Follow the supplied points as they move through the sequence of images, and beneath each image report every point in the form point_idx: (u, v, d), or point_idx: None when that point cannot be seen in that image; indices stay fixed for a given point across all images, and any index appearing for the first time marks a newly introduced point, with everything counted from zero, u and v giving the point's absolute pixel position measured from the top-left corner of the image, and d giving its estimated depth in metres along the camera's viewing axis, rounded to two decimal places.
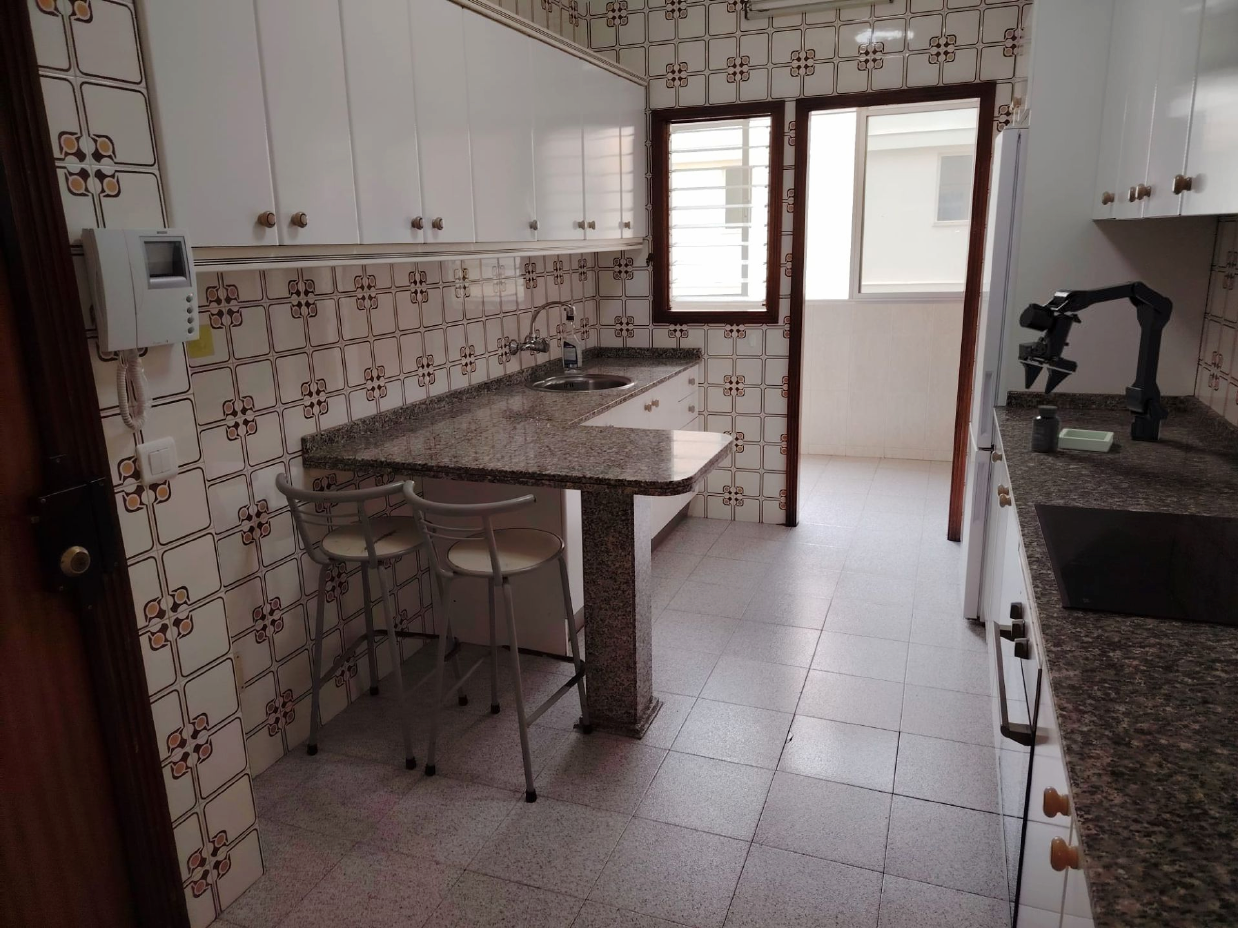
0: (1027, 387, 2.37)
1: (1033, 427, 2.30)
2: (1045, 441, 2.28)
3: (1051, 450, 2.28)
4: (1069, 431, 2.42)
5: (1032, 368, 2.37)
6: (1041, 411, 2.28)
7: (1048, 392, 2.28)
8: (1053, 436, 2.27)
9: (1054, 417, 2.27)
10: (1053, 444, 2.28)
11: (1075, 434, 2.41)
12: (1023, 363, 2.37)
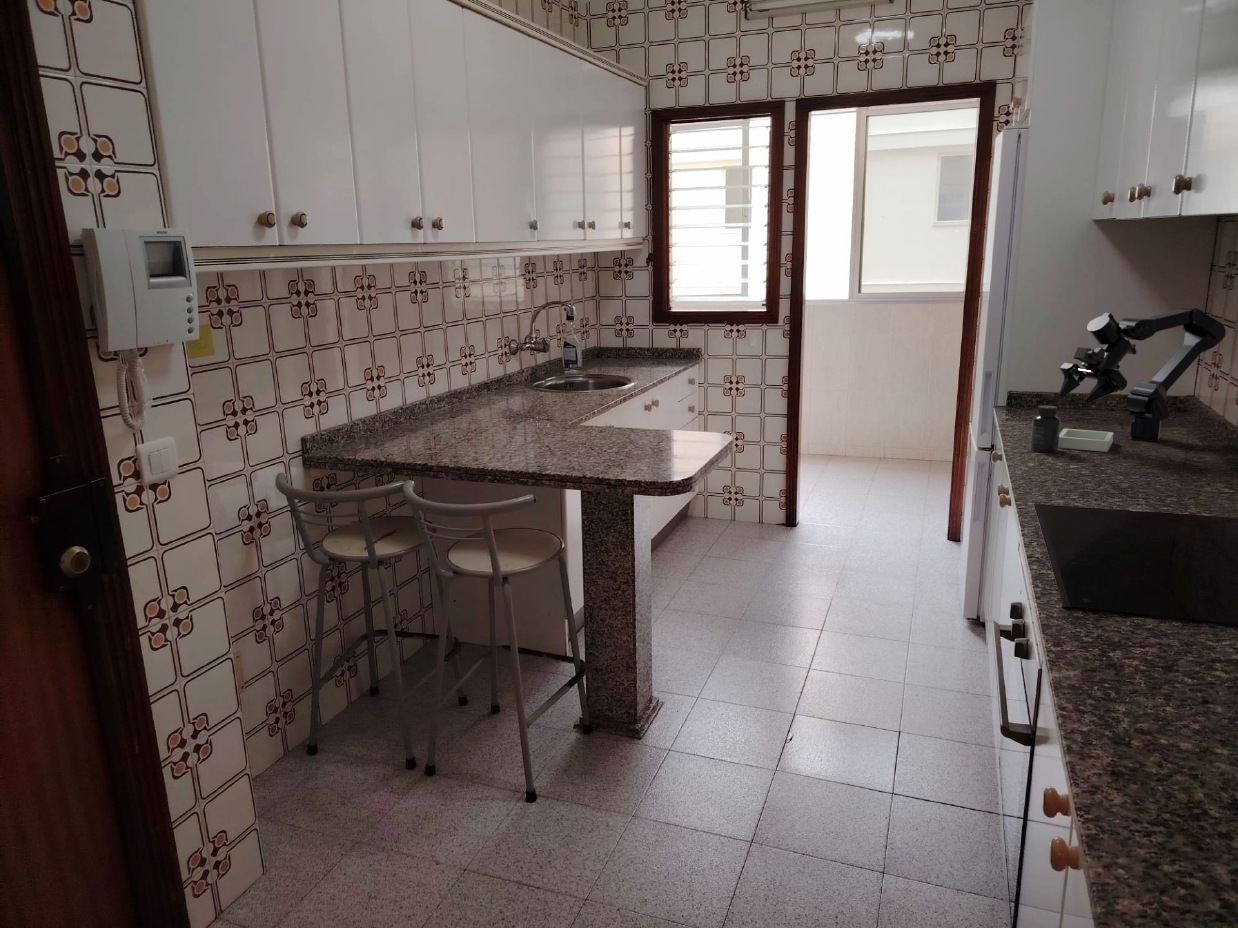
0: (1061, 395, 2.35)
1: (1033, 427, 2.30)
2: (1045, 441, 2.28)
3: (1051, 450, 2.28)
4: (1069, 431, 2.42)
5: (1072, 380, 2.35)
6: (1041, 411, 2.28)
7: (1088, 400, 2.26)
8: (1053, 436, 2.27)
9: (1054, 417, 2.27)
10: (1053, 444, 2.28)
11: (1075, 434, 2.41)
12: (1066, 371, 2.35)
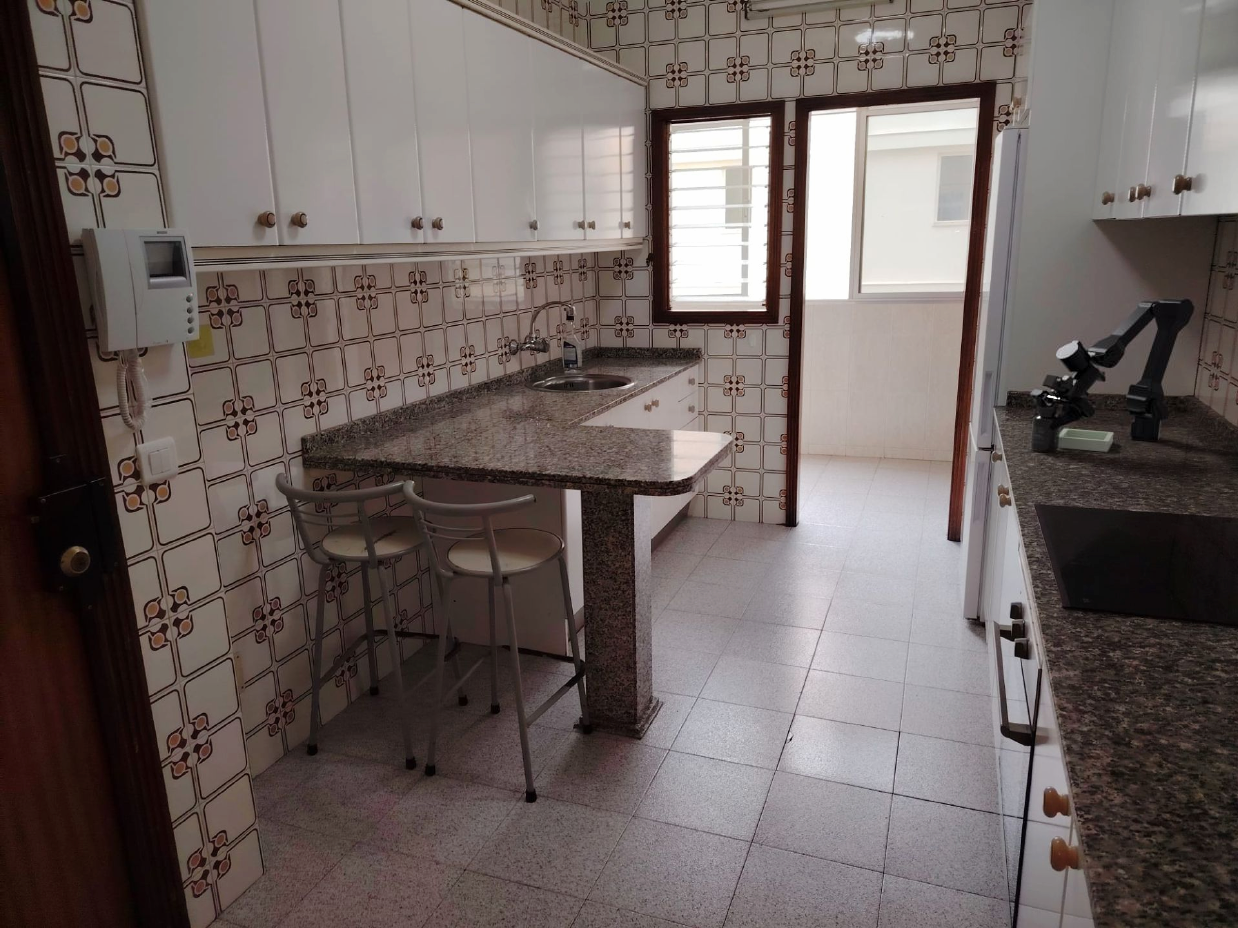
0: None
1: (1033, 427, 2.30)
2: (1045, 441, 2.28)
3: (1051, 450, 2.28)
4: (1069, 431, 2.42)
5: None
6: (1041, 411, 2.28)
7: (1053, 428, 2.26)
8: (1053, 436, 2.27)
9: (1054, 417, 2.27)
10: (1053, 444, 2.28)
11: (1075, 434, 2.41)
12: (1039, 399, 2.33)
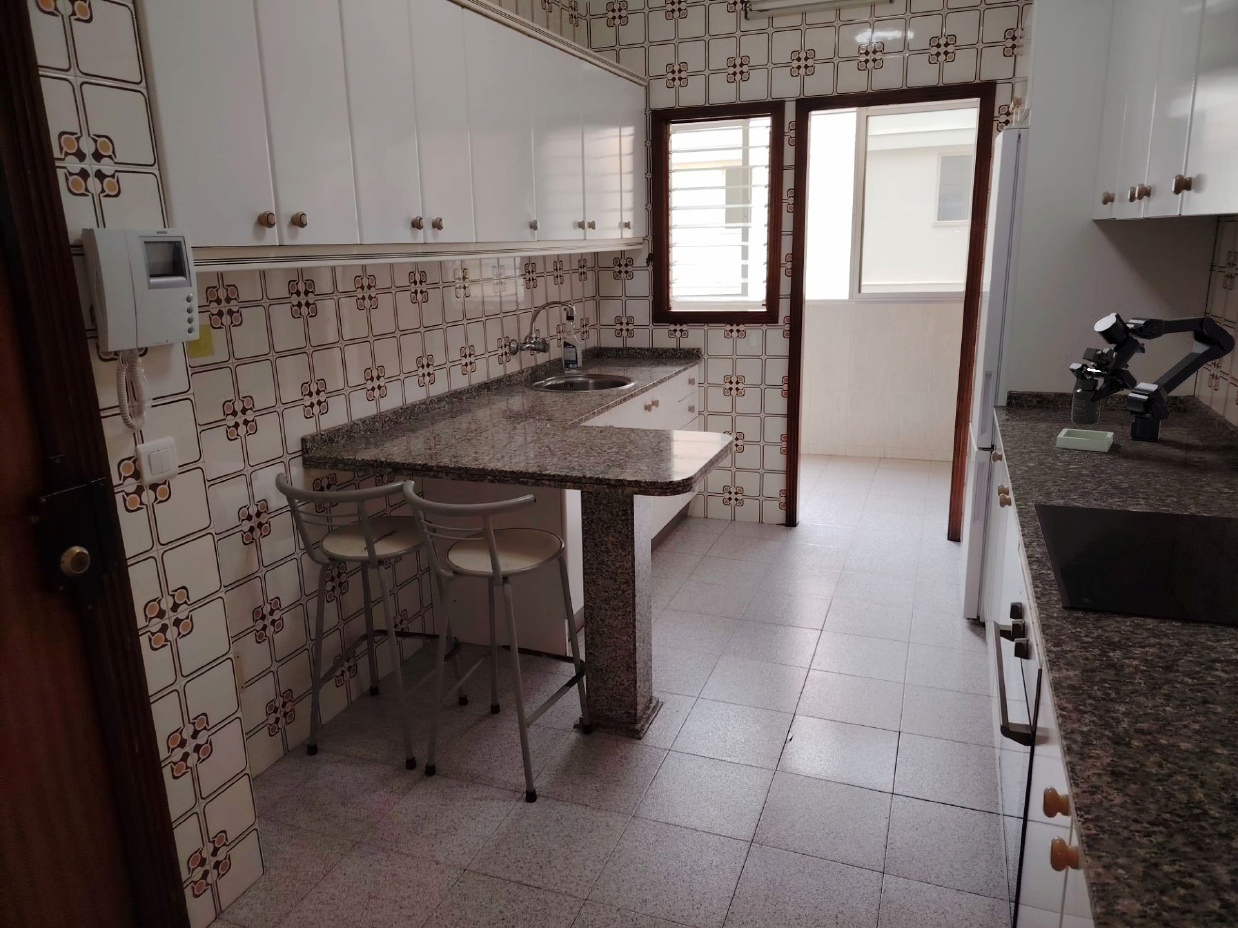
0: None
1: (1074, 400, 2.32)
2: (1087, 413, 2.30)
3: (1092, 422, 2.30)
4: (1069, 431, 2.42)
5: None
6: (1082, 384, 2.30)
7: (1095, 400, 2.28)
8: (1094, 408, 2.29)
9: (1095, 390, 2.29)
10: (1094, 416, 2.30)
11: (1075, 434, 2.41)
12: (1078, 372, 2.35)
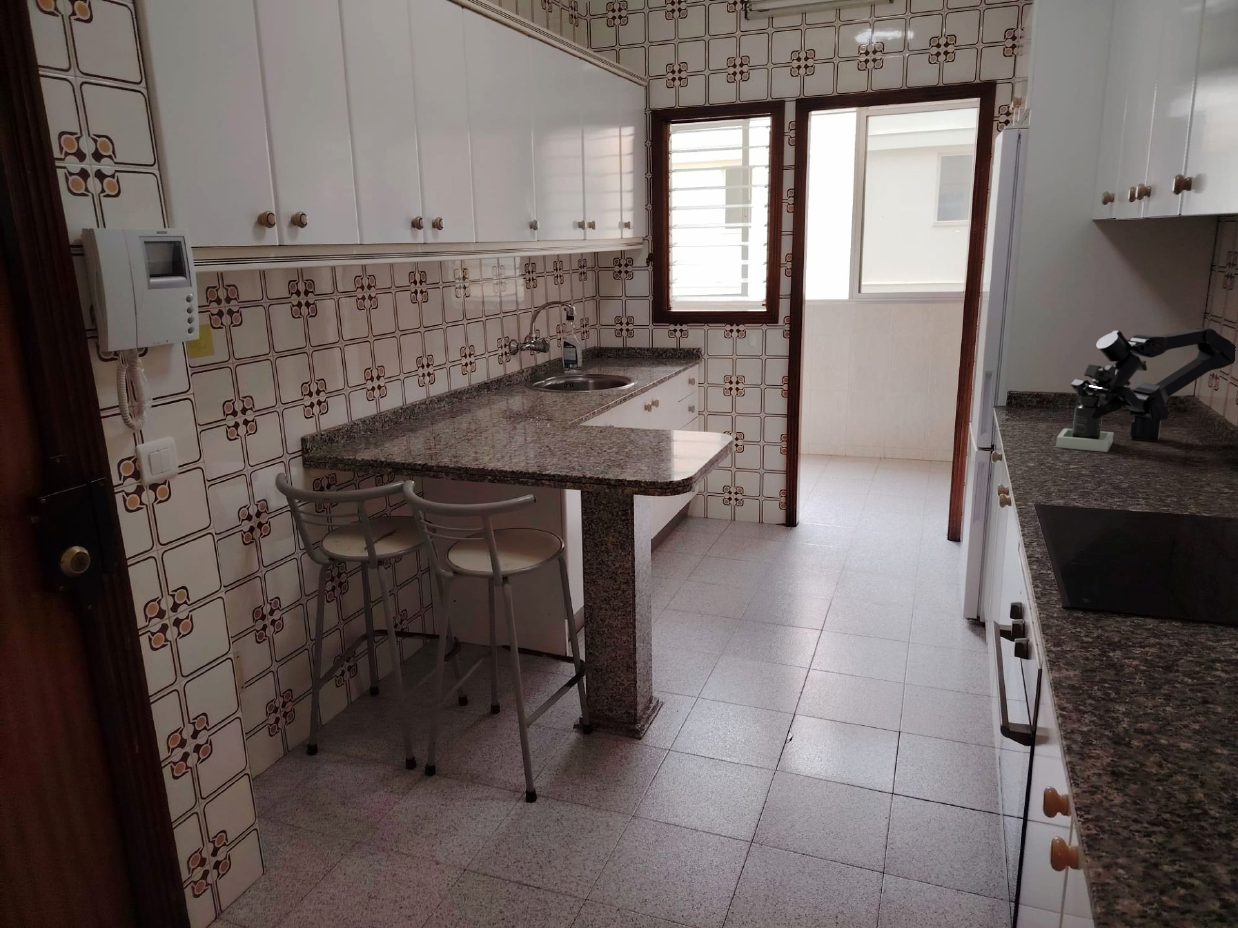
0: None
1: (1075, 416, 2.34)
2: (1088, 430, 2.31)
3: None
4: (1069, 431, 2.42)
5: None
6: (1084, 400, 2.32)
7: (1096, 417, 2.30)
8: (1095, 425, 2.31)
9: (1097, 406, 2.31)
10: (1095, 433, 2.31)
11: None
12: (1080, 388, 2.37)
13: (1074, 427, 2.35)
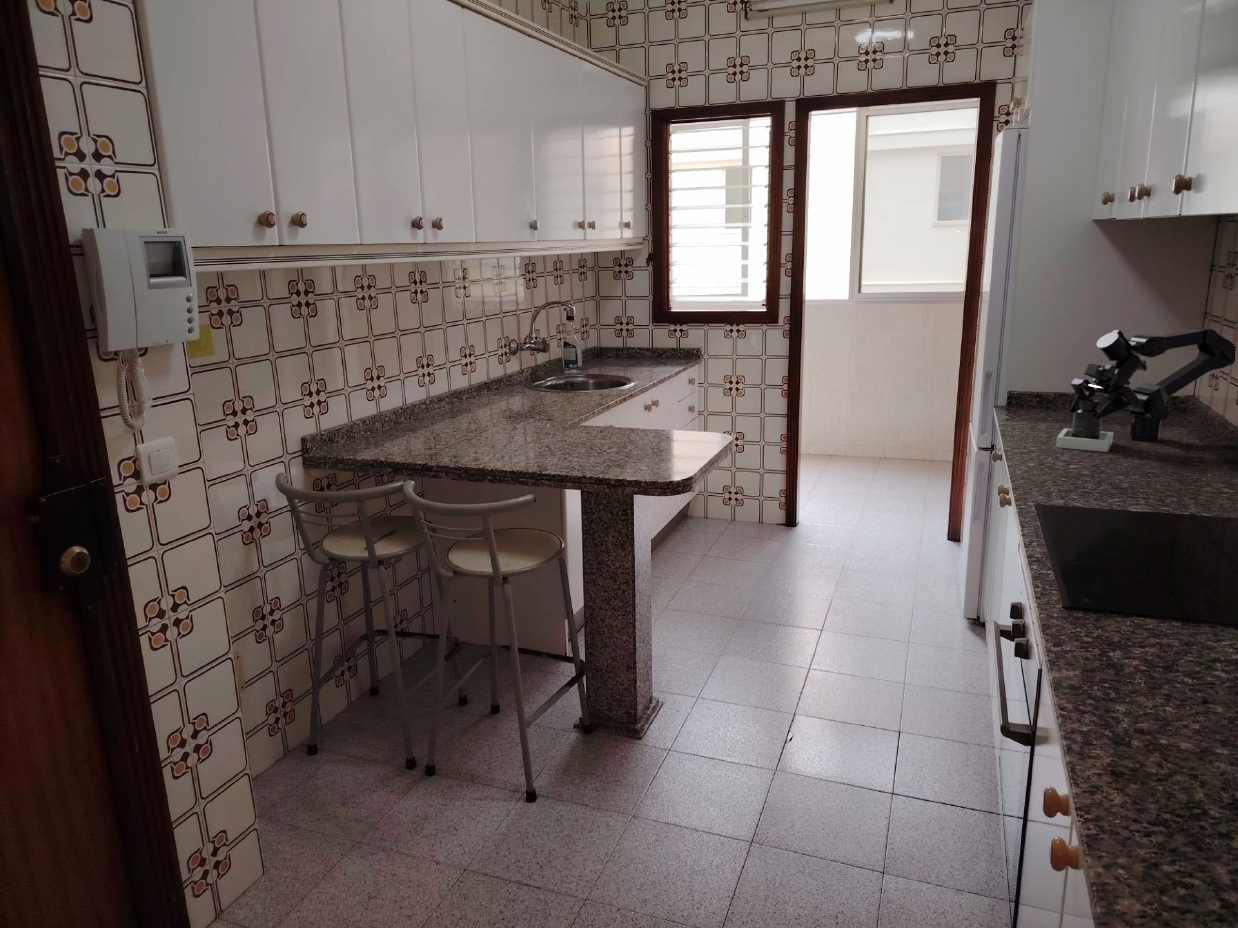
0: (1071, 410, 2.37)
1: (1075, 420, 2.34)
2: (1087, 433, 2.32)
3: None
4: (1069, 431, 2.42)
5: (1082, 396, 2.38)
6: (1083, 404, 2.32)
7: (1099, 416, 2.29)
8: (1094, 429, 2.31)
9: (1096, 410, 2.31)
10: (1094, 437, 2.32)
11: None
12: (1077, 387, 2.38)
13: (1073, 431, 2.35)
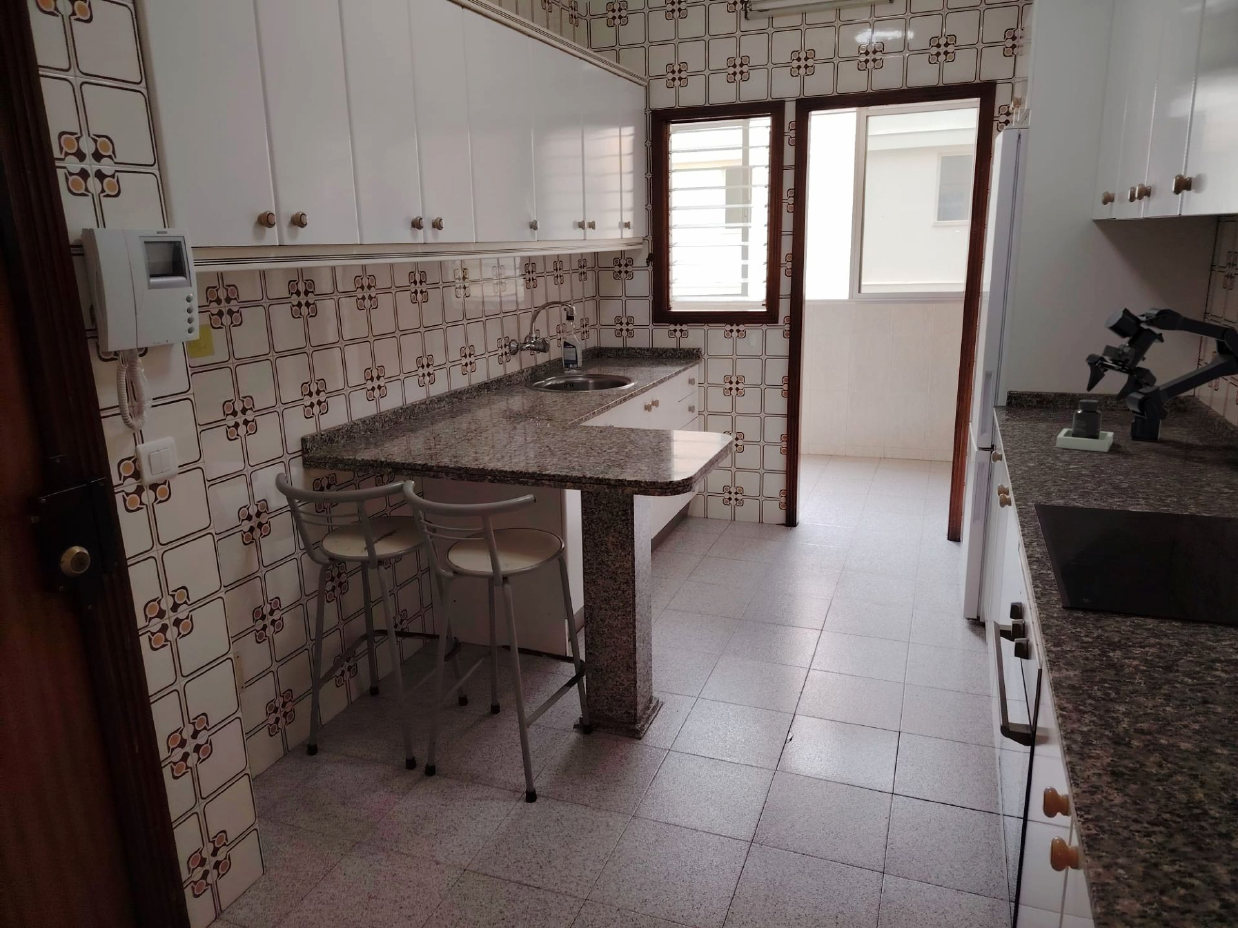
0: (1088, 389, 2.39)
1: (1074, 421, 2.34)
2: (1087, 434, 2.32)
3: None
4: (1069, 431, 2.42)
5: (1098, 373, 2.39)
6: (1083, 405, 2.32)
7: (1119, 399, 2.31)
8: (1094, 429, 2.31)
9: (1096, 411, 2.31)
10: (1094, 437, 2.32)
11: None
12: (1093, 365, 2.38)
13: (1073, 432, 2.35)
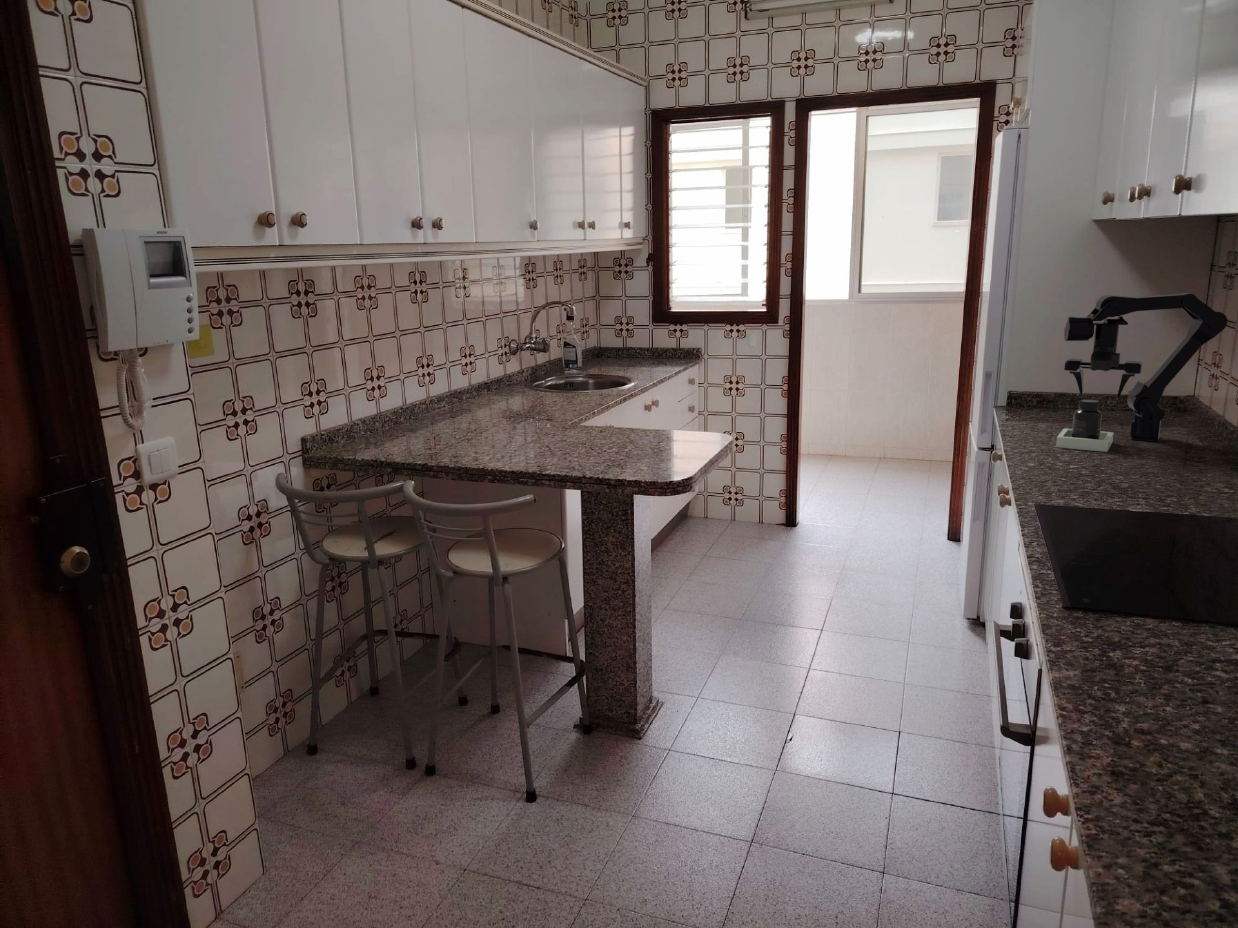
0: (1082, 393, 2.43)
1: (1074, 421, 2.34)
2: (1087, 434, 2.32)
3: None
4: (1069, 431, 2.42)
5: (1082, 375, 2.42)
6: (1083, 405, 2.32)
7: None
8: (1094, 429, 2.31)
9: (1096, 411, 2.31)
10: (1094, 437, 2.32)
11: None
12: (1077, 373, 2.40)
13: (1073, 432, 2.35)
